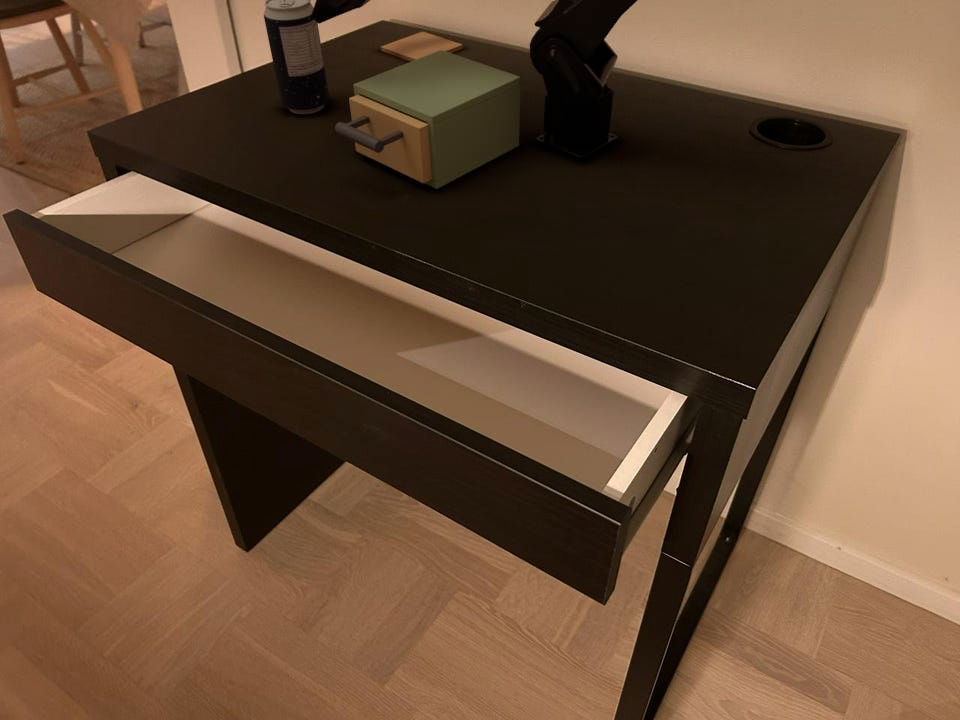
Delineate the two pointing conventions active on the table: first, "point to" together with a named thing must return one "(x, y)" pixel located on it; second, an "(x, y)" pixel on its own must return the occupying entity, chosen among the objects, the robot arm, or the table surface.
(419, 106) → the cabinet
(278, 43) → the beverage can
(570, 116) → the robot arm
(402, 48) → the coaster
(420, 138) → the drawer
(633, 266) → the table surface
